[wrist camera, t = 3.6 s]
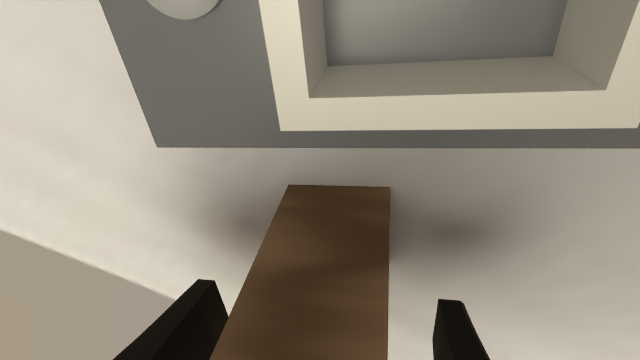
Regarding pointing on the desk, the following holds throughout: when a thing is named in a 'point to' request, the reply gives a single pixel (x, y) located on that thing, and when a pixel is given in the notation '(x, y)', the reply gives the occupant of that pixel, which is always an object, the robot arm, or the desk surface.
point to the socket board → (383, 72)
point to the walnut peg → (316, 280)
